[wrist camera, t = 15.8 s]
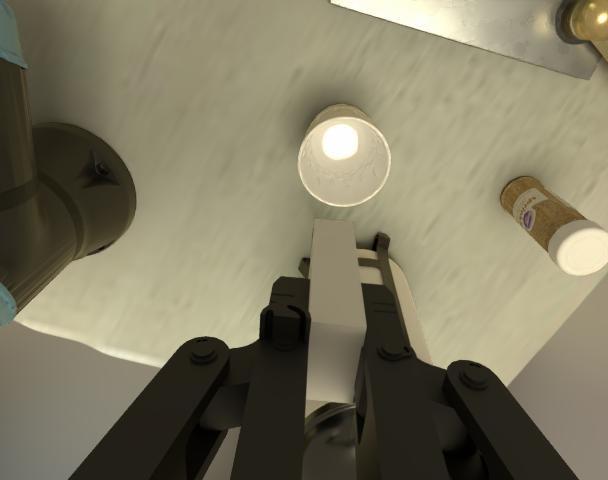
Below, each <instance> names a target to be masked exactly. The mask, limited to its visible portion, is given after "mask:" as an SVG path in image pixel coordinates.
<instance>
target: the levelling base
mask: <svg viewBox="0 0 608 480" xmlns="http://www.w3.org/2000/svg"><path fill="white" fill-rule="evenodd" d="M570 1H571V0H331V3H330V4H333V5H336V6H340V7H343V8H346V9H350V10H353V11H356V12H360V13H363V14H366V15H370V16H373V17H376V18H380V19H383V20H386V21H390V22H393V23H396V24H400V25H403V26H406V27H410V28H413V29H416V30H420V31H423V32H426V33H430V34H433V35H436V36H440V37H443V38H446V39H450V40H453V41H456V42H460V43H463V44H466V45H470V46H473V47H476V48H480V49H483V50H486V51H490V52H493V53H496V54H500V55H503V56H506V57H510V58H513V59H516V60H520V61H523V62H526V63H530V64H533V65H536V66H540V67H543V68H546V69H550V70H553V71H556V72H560V73H563V74H566V75H570V76H573V77H576V78H580V79H585V80H590V78H591V76H592V74H593V72H594V70H595V69H596V67H597V65H598V63H599V61H600V59H601V57H602V54H601V53H600V52H599V50H598V49H597V48H596V47H595V45H594V44H593V43H592V41H589V40H574V39H570V38H568V37H567V36H566V35H565V34H564V33H563V31H562V29H561V16H562V13H563V11H564V9H565V7H566V6H567V4H568V3H569V2H570Z"/></svg>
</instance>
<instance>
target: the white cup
mask: <svg viewBox="0 0 608 480" xmlns="http://www.w3.org/2000/svg"><path fill="white" fill-rule="evenodd" d="M390 166H391V155H390V150H389V146H388V144H387V141H386V139H385V138H384V136H383V135H382V133H381V132H380V131H379V129H378V128H377V127H376V125H375V124H374V123H373V121H372V120H371V119H370V118H369V117H368V116H367V115H366V114H364V113H363V112H362V111H361V110H360V109H359V108H357V107H354V106H351V105H347V104H344V103H342V104H337V105H332V106H328V107H327V108H325V109H324V110H323V111H321V112H320V113H318V114H317V115H316V117H315V119H314V120H313V122H312V123H311V124H310V126H309V128H308V130H307V132H306V134H305V137H304V140H303V142H302V145H301V147H300V150H299V154H298V172H299V175H300V178H301V181H302V183H303V185H304V186H305V188H306V189H307V190H308V192H309V193H310V194H311V195H312V196H314V197H315V198H316V199H318V200H319V201H321V202H323V203H325V204H328V205H332V206H337V207H349V206H354V205H358V204H361V203H363V202H365V201H367V200H369V199H370V198H372V197H373V196H374V195H375V194H376V193H377V192H378V191H379V190H380V189H381V188H382V186H383V185H384V183H385V182H386V180H387V177H388V175H389V171H390Z"/></svg>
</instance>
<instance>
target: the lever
mask: <svg viewBox="0 0 608 480" xmlns="http://www.w3.org/2000/svg"><path fill="white" fill-rule="evenodd" d="M561 29H562V31H563V33H564V34H565V35H566V36H567V37H568V38H570V39H574V40H589V41H592V43H593V44H594V45H595V47H596V48H597V49H598V50H599V52H600V53H601V54H602V56H603V57H604V58H605V59H606V61H607V62H608V0H571V1H570V2H569V3H568V4H567V6H566V7H565V9H564V11H563V13H562V16H561Z"/></svg>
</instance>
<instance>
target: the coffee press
mask: <svg viewBox="0 0 608 480" xmlns="http://www.w3.org/2000/svg"><path fill="white" fill-rule="evenodd" d="M313 230H314V228H313ZM312 240H313V235H312ZM389 242H390V238H389V237H387V236H385V235H382V234H380V233H378V234H377V236H376V237H375V240H374V243H373V246H372V249H371V250H365V249H356V250H357V257H358V265H359V272H360V280H361V283H368V284H379V285H386V287H387V288H388V289H389V290H390V291H391V292H392V293H393V294H394V298H395V302H396V306H397V310H398V314H399V318H400V322H401V326H402V330H403V334H404V338H405V342H407V343H408V344H409V345H410V346H411V347H412V348H413V349H414V351H415V353H416V355H417V358H418V359H420V360H422V361H423V362H426V363H428V364H430V365H433V362H432V359H431V355H430V352H429V349H428V346H427V343H426V339H425V336H424V333H423V330H422V327H421V324H420V320H419V317H418V314H417V311H416V308H415V305H414V301H413V298H412V295H411V292H410V289H409V286H408V283H407V280H406V278H405V276H404V274H403V272H402V270H401V269H400V268H399V266H398V265H397V264H396V263H395V262H393V261H392V260H391V259H390V258H388V247H389ZM309 269H310V259H308V258H303V259H302V261H301V263H300V265H299V267H298V270H299V271H300V272H301V274H302V275H303V276H304V278H305V279H309ZM433 366H434V365H433ZM355 407H356V402H355V394H354V399H353V404H348V403H338V402H327V401H317V400H307V399H306V408H305V428H304V448H303V467H302V480H357V472H356V456H355V441H354V439H349V438H350V433H351V428H352V422H353V417H354V412H355Z"/></svg>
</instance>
